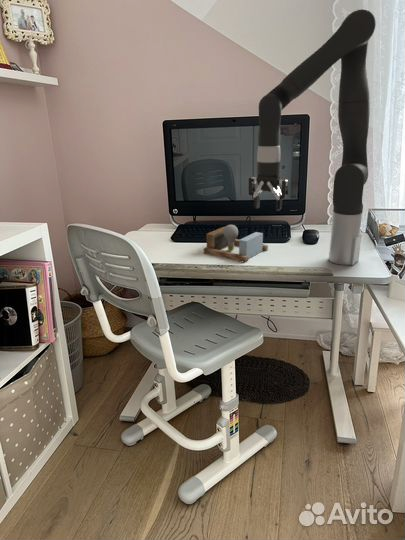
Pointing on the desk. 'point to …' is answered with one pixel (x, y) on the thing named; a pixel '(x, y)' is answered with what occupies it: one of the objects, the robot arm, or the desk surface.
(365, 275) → the desk surface
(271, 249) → the desk surface
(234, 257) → the vise frame
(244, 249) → the slide jaw
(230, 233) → the light bulb
